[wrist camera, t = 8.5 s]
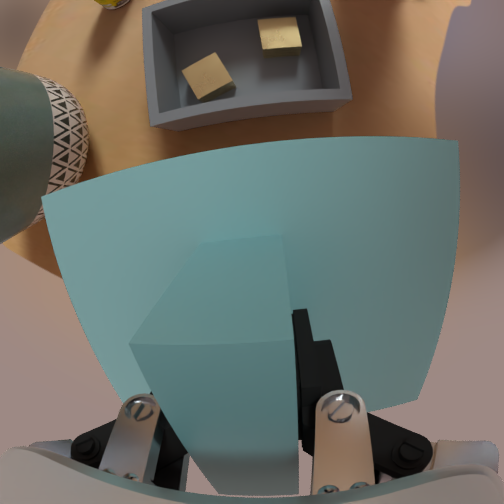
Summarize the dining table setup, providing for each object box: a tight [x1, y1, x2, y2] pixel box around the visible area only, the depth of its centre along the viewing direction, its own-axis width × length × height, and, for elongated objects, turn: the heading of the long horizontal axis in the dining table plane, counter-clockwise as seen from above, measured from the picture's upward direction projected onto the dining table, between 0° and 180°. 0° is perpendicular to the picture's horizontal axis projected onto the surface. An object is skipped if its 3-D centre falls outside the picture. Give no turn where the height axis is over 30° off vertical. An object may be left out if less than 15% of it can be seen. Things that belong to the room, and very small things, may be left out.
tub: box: [142, 0, 353, 131], centre depth 22 cm, size 18×14×8 cm
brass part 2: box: [258, 17, 302, 58], centre depth 22 cm, size 4×4×3 cm
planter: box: [0, 67, 89, 244], centre depth 20 cm, size 20×20×21 cm
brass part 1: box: [182, 52, 236, 103], centre depth 25 cm, size 4×4×3 cm
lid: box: [41, 136, 460, 496], centre depth 10 cm, size 19×15×8 cm
